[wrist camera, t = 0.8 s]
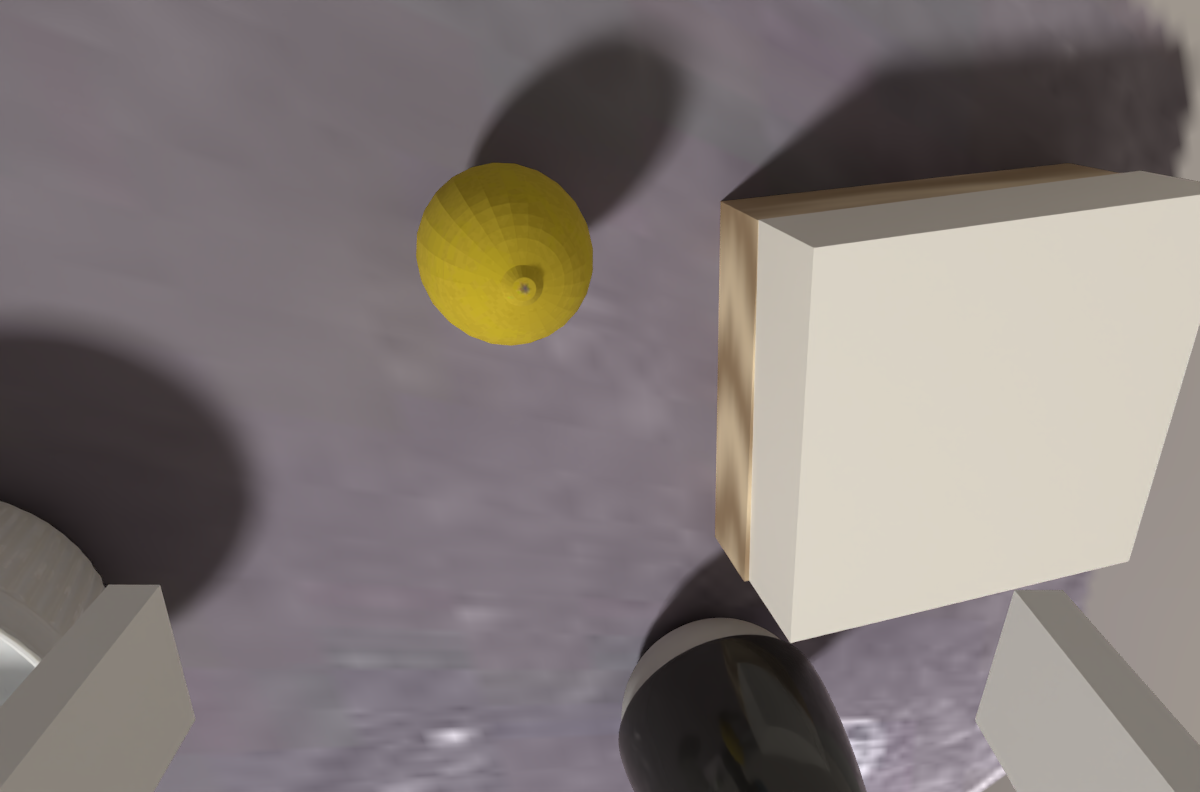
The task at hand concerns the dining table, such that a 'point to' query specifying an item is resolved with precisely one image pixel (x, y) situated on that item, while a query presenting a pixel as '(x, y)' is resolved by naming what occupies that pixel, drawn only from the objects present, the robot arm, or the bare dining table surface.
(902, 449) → the tower top
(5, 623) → the ramekin
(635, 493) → the dining table surface
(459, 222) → the lemon
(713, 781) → the pump dispenser
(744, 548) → the tower base
